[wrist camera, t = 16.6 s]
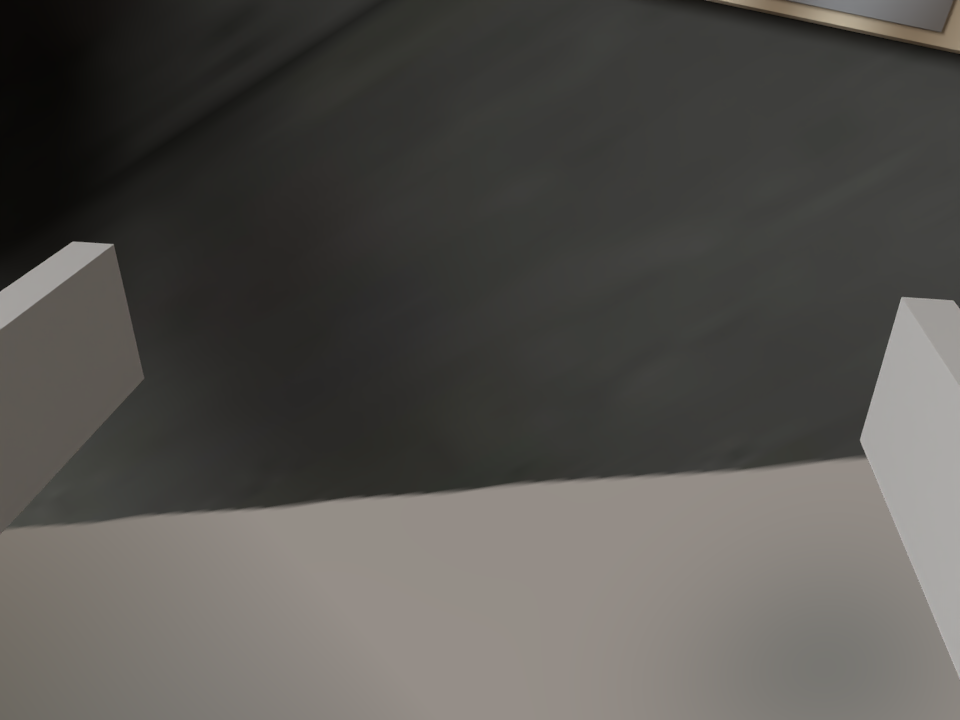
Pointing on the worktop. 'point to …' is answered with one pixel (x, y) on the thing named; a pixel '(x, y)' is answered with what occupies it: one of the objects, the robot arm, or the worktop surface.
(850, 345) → the worktop surface
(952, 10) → the board
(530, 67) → the worktop surface
